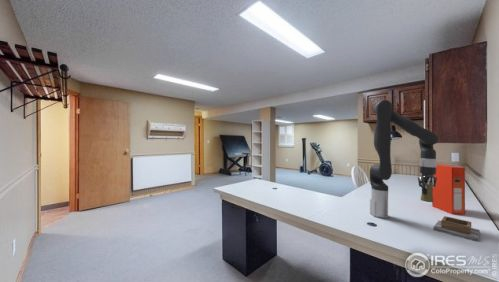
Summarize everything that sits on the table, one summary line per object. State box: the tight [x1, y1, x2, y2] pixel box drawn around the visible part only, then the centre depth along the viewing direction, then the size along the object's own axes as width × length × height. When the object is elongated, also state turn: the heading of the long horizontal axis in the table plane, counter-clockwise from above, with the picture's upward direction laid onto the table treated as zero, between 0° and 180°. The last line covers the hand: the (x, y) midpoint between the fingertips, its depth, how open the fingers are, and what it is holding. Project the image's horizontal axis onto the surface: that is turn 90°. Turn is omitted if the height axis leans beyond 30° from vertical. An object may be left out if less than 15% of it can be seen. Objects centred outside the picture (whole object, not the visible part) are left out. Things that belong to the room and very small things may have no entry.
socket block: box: [433, 215, 481, 242], centre depth 107 cm, size 16×16×6 cm
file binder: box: [431, 164, 466, 216], centre depth 141 cm, size 8×17×32 cm, turn 172°
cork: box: [420, 182, 434, 203], centre depth 119 cm, size 6×6×11 cm
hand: (427, 193), depth 119 cm, fingers closed on cork, 4 cm apart
